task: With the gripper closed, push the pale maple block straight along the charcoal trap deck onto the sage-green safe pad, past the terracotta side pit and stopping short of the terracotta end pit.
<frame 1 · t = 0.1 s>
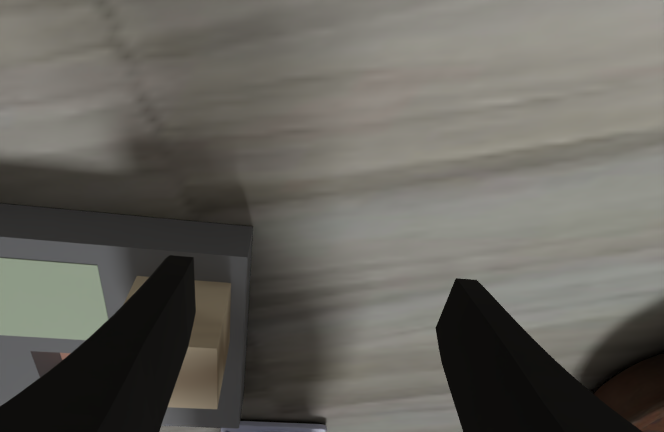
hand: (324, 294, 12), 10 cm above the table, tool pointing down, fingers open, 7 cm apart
trap deck: (68, 311, 26), on the table
dish: (661, 393, 34), on the table
maple block: (186, 311, 23), point 2 cm above the table, touching trap deck
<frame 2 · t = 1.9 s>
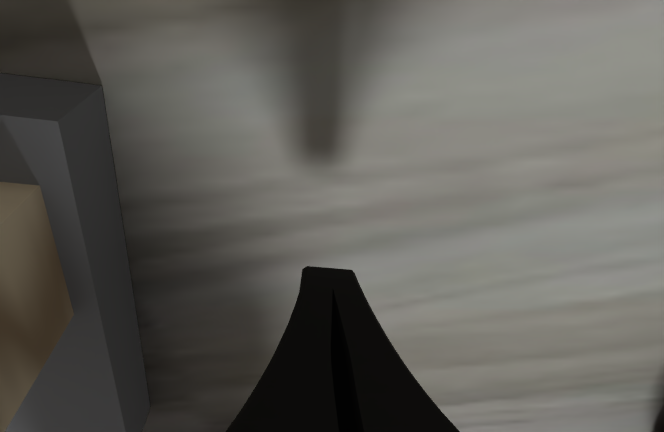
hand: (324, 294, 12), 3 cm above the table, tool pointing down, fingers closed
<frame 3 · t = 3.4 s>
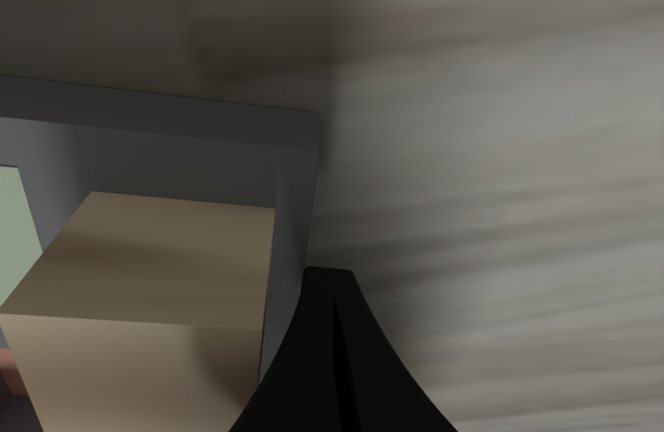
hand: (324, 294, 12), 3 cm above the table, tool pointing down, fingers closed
maple block: (189, 267, 12), point 3 cm above the table, touching gripper
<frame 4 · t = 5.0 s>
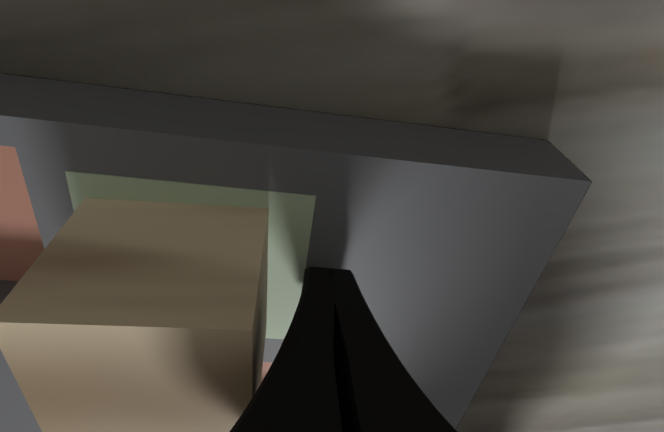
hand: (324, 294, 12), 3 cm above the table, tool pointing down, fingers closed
trap deck: (200, 293, 16), on the table
maple block: (186, 270, 12), point 3 cm above the table, touching gripper
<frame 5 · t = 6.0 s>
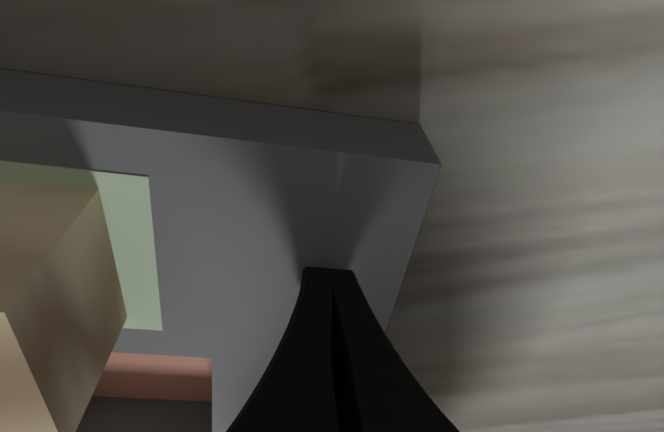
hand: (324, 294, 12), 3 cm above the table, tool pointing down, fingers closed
trap deck: (82, 282, 16), on the table
maple block: (26, 255, 12), point 3 cm above the table, touching trap deck
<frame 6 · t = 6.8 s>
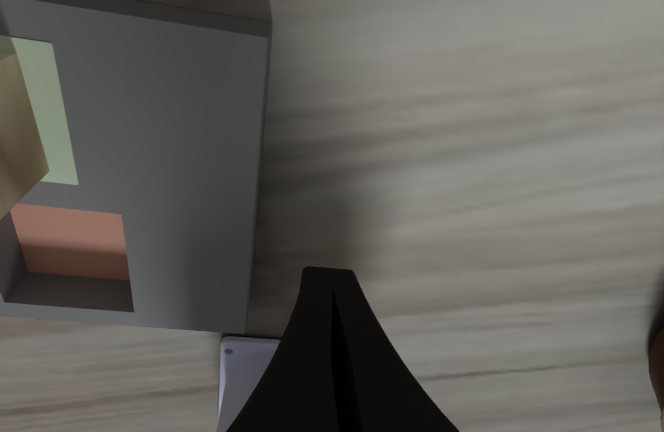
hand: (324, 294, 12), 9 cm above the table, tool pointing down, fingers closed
trap deck: (23, 161, 20), on the table
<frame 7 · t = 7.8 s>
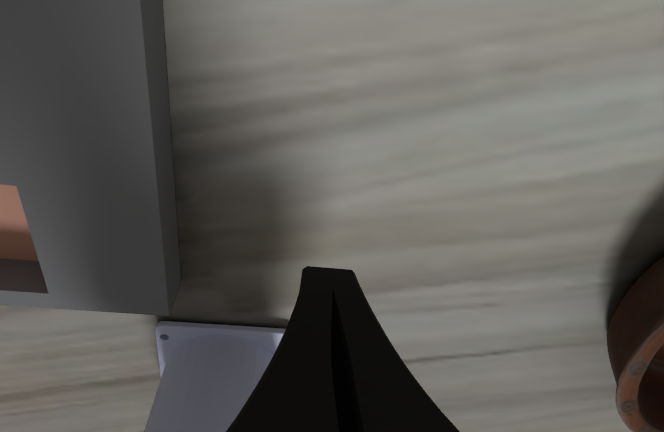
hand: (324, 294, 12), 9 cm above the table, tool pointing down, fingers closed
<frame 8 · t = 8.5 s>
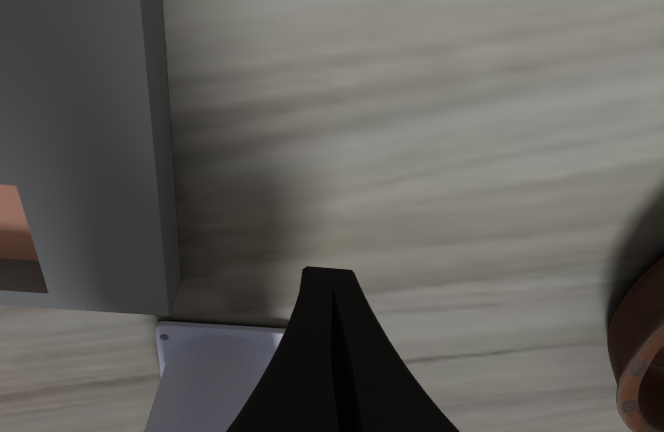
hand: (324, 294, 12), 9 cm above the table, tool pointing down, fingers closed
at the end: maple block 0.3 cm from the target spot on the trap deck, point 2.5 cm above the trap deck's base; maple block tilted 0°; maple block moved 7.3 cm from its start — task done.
